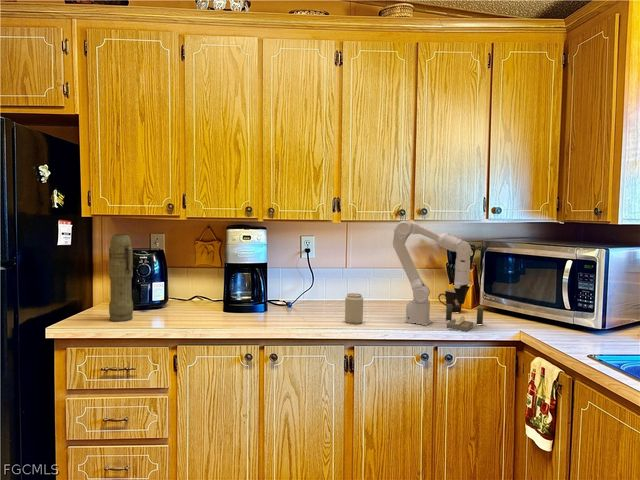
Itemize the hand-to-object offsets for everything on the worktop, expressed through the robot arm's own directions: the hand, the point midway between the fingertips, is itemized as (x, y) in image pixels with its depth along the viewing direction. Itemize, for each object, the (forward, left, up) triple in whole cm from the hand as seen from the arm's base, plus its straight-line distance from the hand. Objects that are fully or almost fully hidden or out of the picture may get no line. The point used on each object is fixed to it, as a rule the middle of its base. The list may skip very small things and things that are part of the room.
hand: (460, 303), depth 181 cm
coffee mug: (-11, +26, -10) cm, 30 cm away
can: (-38, -21, -10) cm, 45 cm away
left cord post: (-7, +8, -10) cm, 14 cm away
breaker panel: (+1, -2, -10) cm, 10 cm away
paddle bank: (+1, -2, -7) cm, 8 cm away
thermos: (-117, -76, -10) cm, 140 cm away
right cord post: (+6, +8, -10) cm, 14 cm away
